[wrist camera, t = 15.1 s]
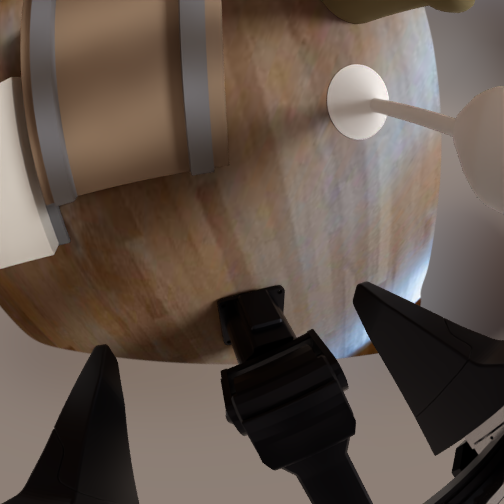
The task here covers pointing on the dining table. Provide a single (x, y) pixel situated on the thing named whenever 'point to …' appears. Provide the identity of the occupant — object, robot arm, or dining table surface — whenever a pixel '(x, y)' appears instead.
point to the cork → (388, 8)
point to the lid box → (122, 91)
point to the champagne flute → (427, 125)
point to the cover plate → (20, 187)
